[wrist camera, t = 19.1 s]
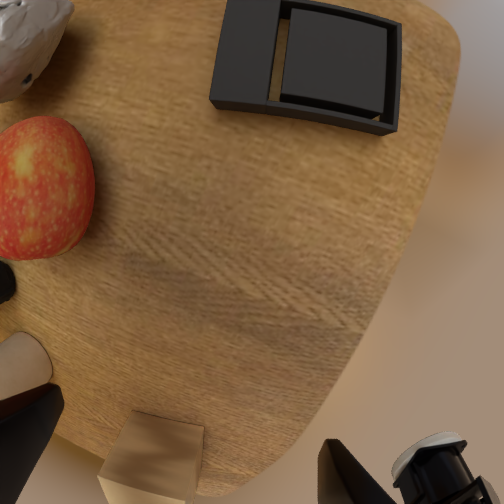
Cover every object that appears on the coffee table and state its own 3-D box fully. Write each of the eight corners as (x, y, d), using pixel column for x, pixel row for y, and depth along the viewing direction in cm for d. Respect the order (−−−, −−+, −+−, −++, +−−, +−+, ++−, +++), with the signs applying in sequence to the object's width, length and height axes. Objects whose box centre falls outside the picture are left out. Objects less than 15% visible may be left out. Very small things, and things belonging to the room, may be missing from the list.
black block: (374, 43, 16) (387, 28, 13) (369, 120, 17) (383, 113, 15) (289, 25, 16) (291, 7, 13) (279, 103, 17) (280, 93, 15)
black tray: (388, 37, 16) (401, 23, 13) (382, 136, 17) (397, 131, 15) (233, 10, 16) (229, -8, 13) (216, 109, 17) (208, 99, 15)
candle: (20, 372, 24) (-36, 427, 14) (6, 325, 22) (-62, 375, 13) (59, 387, 23) (3, 453, 14) (45, 337, 22) (-26, 399, 12)
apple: (32, 238, 20) (-42, 265, 12) (35, 129, 18) (-43, 123, 10) (116, 248, 20) (44, 288, 12) (122, 121, 18) (47, 100, 10)
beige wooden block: (204, 426, 23) (185, 501, 15) (201, 467, 25) (186, 533, 17) (132, 409, 23) (96, 475, 15) (138, 452, 25) (112, 512, 17)
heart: (133, 39, 16) (13, -56, 4) (47, 147, 18) (-95, 122, 6) (76, 0, 16) (-12, -61, 5) (9, 86, 18) (-91, 55, 7)
